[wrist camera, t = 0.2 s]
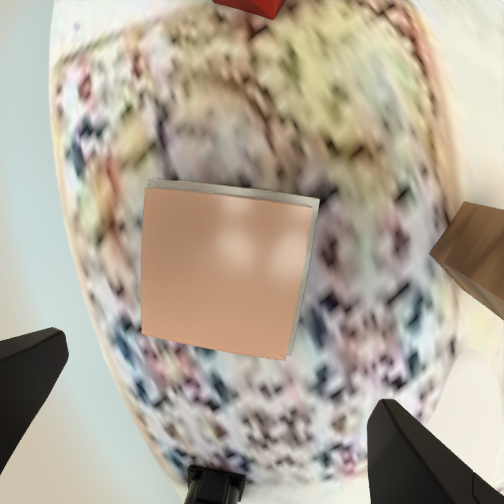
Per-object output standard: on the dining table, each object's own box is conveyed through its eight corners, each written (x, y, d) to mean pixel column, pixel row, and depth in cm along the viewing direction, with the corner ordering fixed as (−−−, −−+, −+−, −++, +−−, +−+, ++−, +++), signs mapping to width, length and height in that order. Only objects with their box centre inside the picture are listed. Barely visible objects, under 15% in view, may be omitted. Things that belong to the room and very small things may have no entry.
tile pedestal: (290, 345, 22) (291, 367, 19) (151, 320, 23) (136, 338, 20) (317, 197, 20) (323, 201, 17) (157, 178, 20) (138, 179, 17)
